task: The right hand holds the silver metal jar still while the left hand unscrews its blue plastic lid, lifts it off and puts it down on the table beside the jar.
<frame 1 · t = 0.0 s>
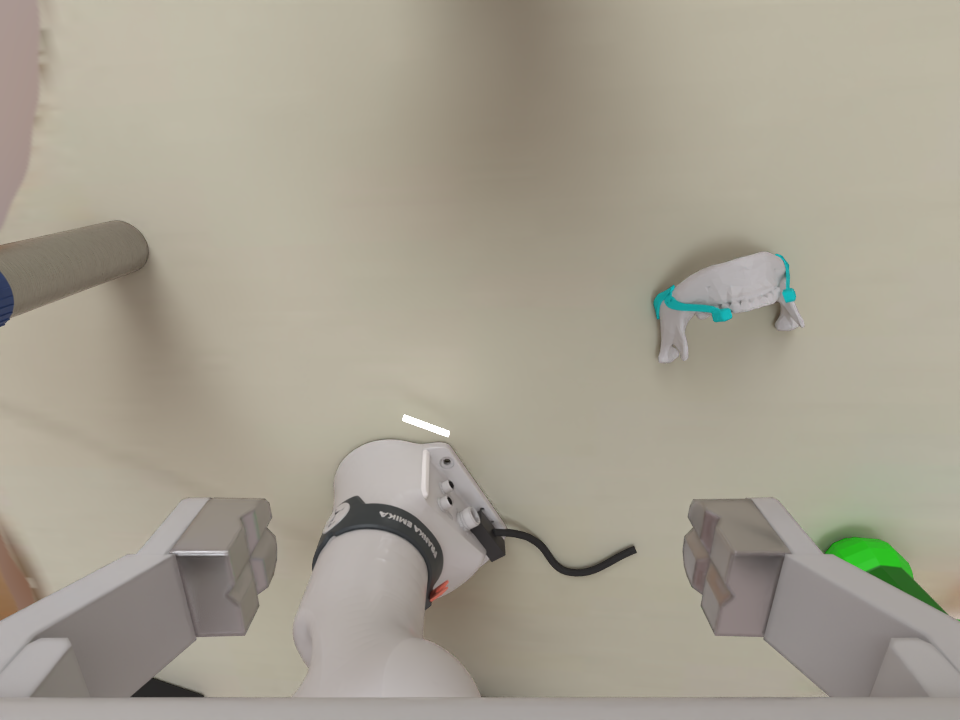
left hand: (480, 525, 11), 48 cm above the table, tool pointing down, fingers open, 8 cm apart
anatomical model: (716, 296, 58), on the table
jar: (122, 246, 56), on the table
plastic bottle: (844, 553, 71), on the table
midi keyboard: (144, 676, 79), on the table
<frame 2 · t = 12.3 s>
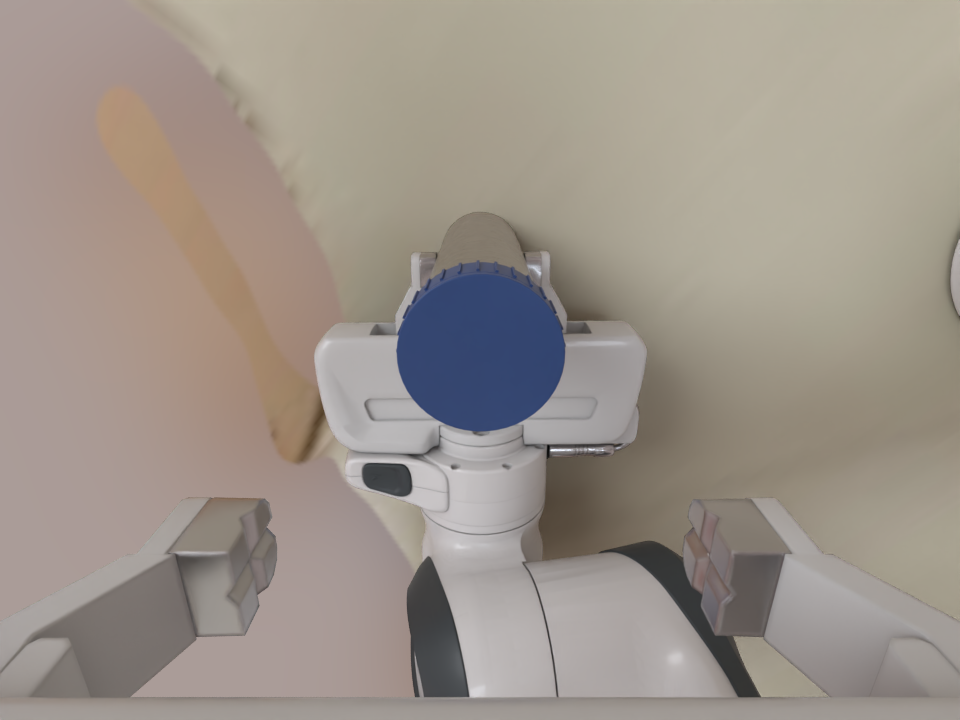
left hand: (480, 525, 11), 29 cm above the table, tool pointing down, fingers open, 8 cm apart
right hand: (479, 253, 32), fingers closed on jar, 5 cm apart
lid: (480, 353, 19), point 20 cm above the table, screwed on, not yet turned
jar: (480, 251, 38), on the table, touching right hand
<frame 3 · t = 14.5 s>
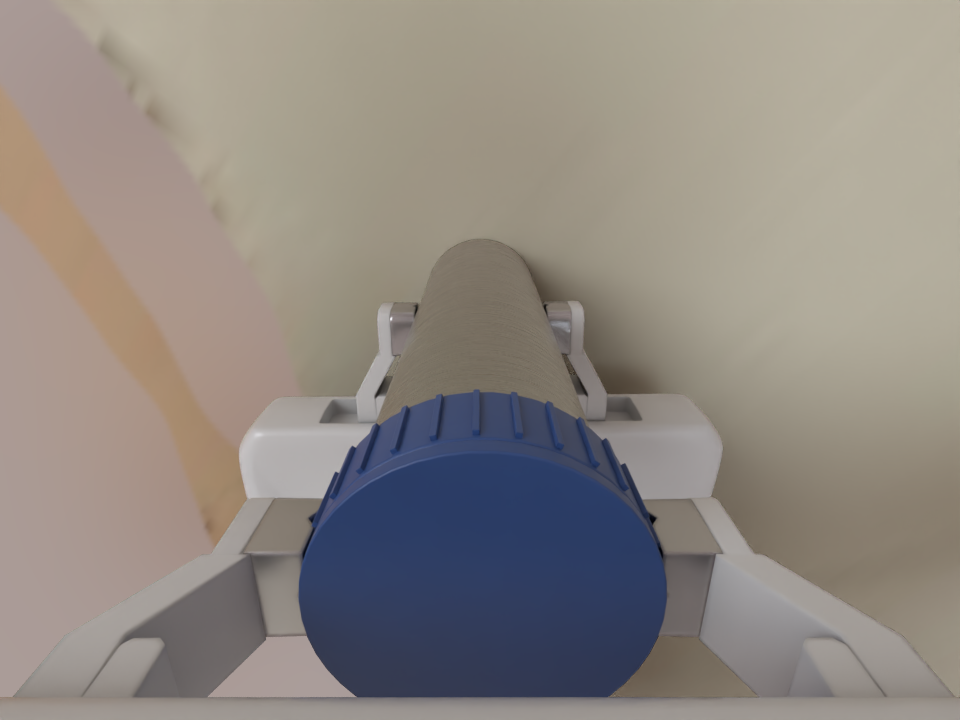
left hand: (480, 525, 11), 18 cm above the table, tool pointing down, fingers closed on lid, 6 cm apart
lid: (482, 594, 9), point 20 cm above the table, screwed on, not yet turned, touching left hand
jar: (480, 292, 27), on the table, touching right hand
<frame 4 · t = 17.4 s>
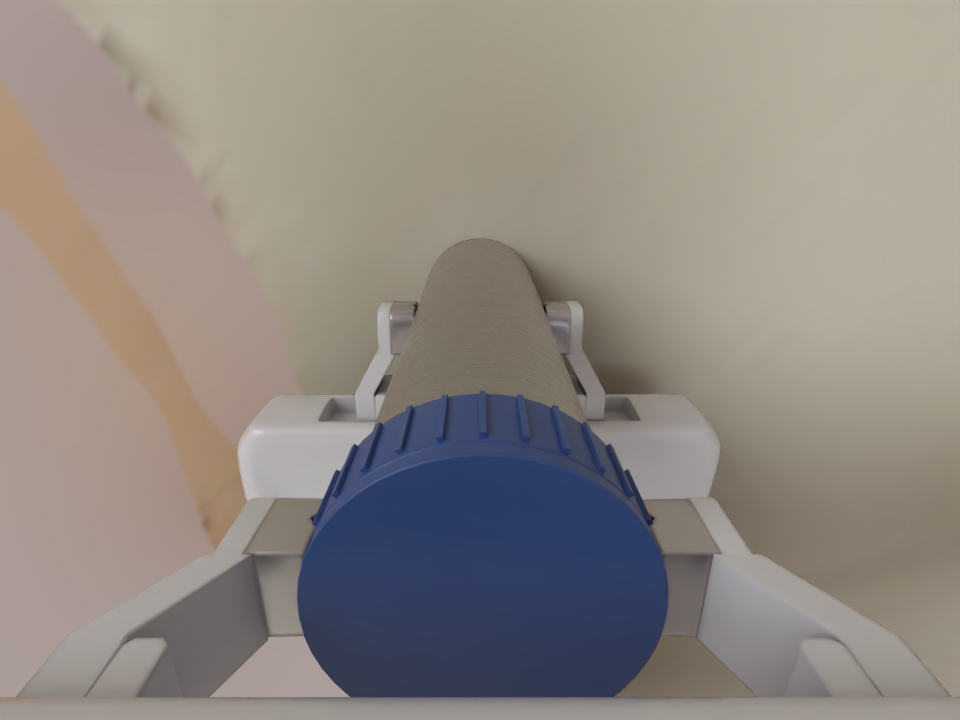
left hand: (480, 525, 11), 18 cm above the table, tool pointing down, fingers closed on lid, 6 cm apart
lid: (482, 597, 9), point 20 cm above the table, turned 73° so far, risen 0.1 cm, still on its thread, touching left hand
jar: (479, 291, 27), on the table, touching right hand
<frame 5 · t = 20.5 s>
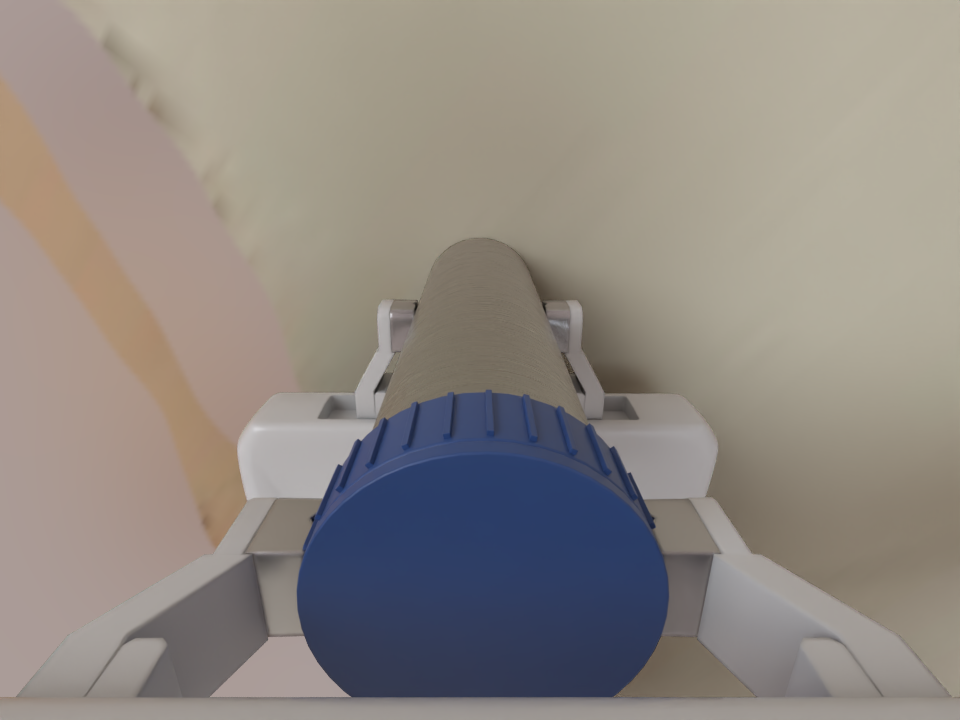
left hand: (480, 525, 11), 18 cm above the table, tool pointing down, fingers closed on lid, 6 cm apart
lid: (482, 596, 9), point 20 cm above the table, turned 146° so far, risen 0.2 cm, still on its thread, touching left hand
jar: (479, 290, 28), on the table, touching right hand
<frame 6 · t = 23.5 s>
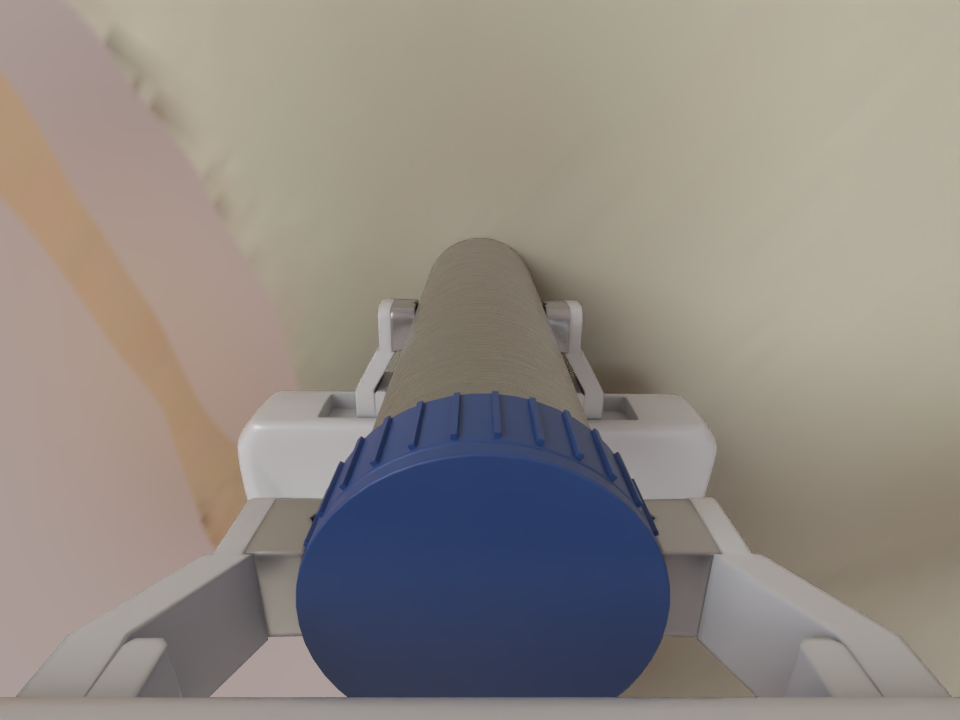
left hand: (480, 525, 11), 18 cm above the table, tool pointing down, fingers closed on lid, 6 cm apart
lid: (482, 599, 9), point 20 cm above the table, turned 218° so far, risen 0.4 cm, still on its thread, touching left hand
jar: (480, 290, 28), on the table, touching right hand
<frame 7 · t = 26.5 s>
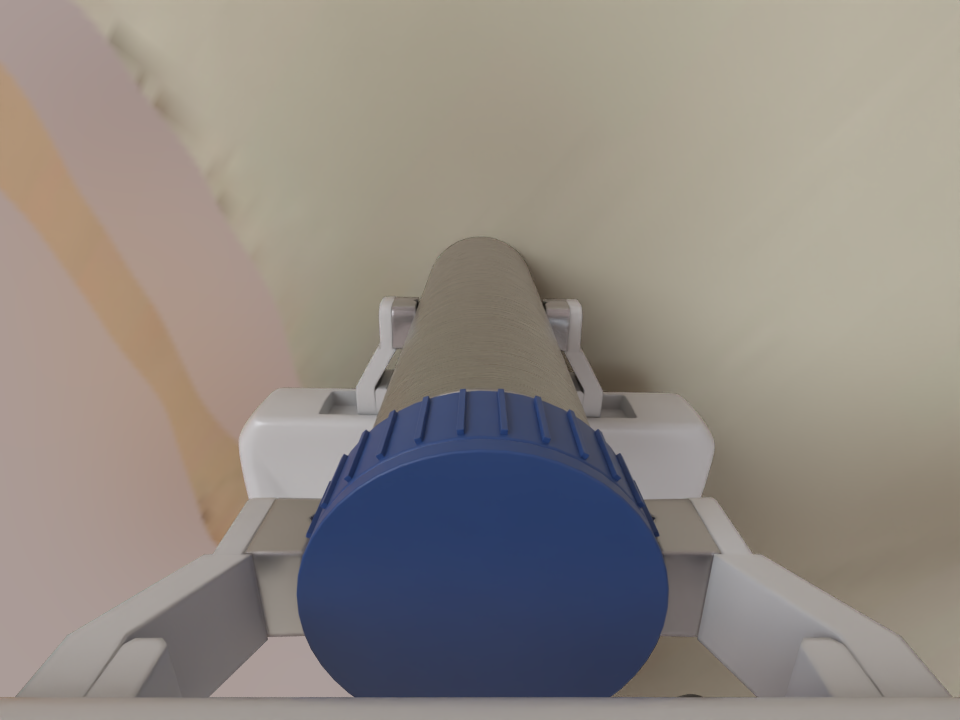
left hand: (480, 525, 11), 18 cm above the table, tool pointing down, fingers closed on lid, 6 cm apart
lid: (482, 594, 9), point 20 cm above the table, turned 291° so far, risen 0.5 cm, still on its thread, touching left hand
jar: (480, 289, 28), on the table, touching right hand
when the left hand's fingers open (2 cm above the table, at t = 32.6 s): lid drops 2 cm, point 2 cm above the table.
when the right hand's fingers open (5 cm above the table, at t = 33.6 s): jar stays where it is, on the table.
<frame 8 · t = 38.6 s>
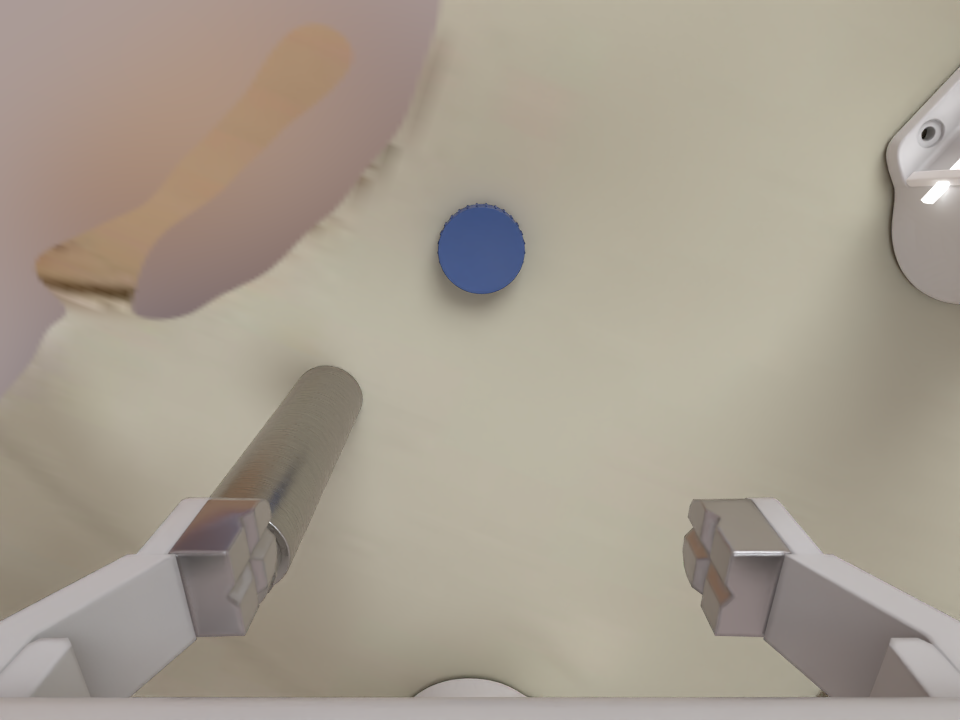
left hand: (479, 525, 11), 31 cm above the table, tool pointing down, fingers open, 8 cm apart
lid: (481, 250, 38), point 2 cm above the table, off its thread
jar: (329, 396, 44), on the table
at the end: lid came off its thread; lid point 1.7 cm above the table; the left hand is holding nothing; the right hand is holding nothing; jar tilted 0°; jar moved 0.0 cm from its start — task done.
